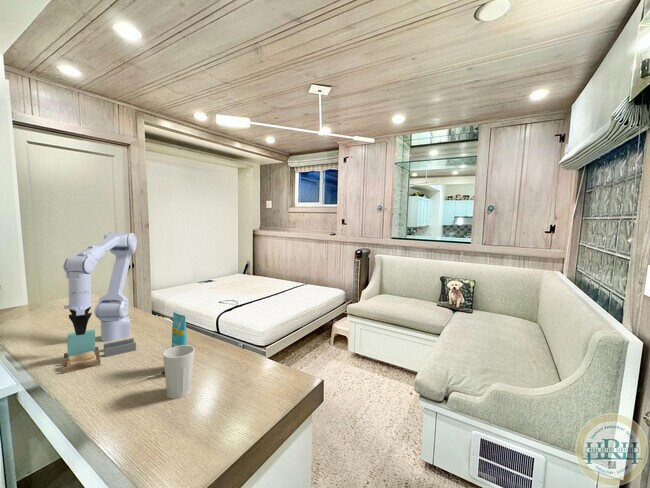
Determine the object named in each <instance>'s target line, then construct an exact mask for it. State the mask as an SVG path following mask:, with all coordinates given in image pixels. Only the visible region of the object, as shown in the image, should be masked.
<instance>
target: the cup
mask: <svg viewBox="0 0 650 488" xmlns="http://www.w3.org/2000/svg"><path fill="white" fill-rule="evenodd" d="M195 350H196V348H195V347H194V346H192V345H188V344H187V345H181V346H175V347H172V346H171V347H169V348H167V349H166V350H164V351H163V353H162V357H163V366H164V378H165V379H164V380H165V386H166V387H165V389H166V397H167V398H169V399H173V400H175V399H181V398H184V397H186V396H188V395H189V394H190V393H191V392H192V390H193V389H192V387H193V386H192V383H193V374H194V372H193V371H194V360H195Z"/></svg>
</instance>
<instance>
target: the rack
mask: <svg viewBox="0 0 650 488" xmlns="http://www.w3.org/2000/svg"><path fill="white" fill-rule="evenodd" d="M94 353H95V355H96V360H95V361H91V362H87V363H82V364H78V365H74V366H69V367H67V363H68V361H69V358H68V352H65V353H63V360H62V361H63V368H62V375H64V374H67V373H73V372H76V371H80V370H81V371H82V370H85V369H88V368H89V369H90V368H94V367H98V366H101V358H100V351H99V346H95V352H94Z"/></svg>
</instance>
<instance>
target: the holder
mask: <svg viewBox="0 0 650 488" xmlns="http://www.w3.org/2000/svg"><path fill="white" fill-rule="evenodd" d="M134 340H135V339H134V337H132V338H131V337H130V338H125V339H120V340H115V341H110V342H106V343H103V354H104V358H108V357H113V356H116V355H117V356H118V355H121V354H126V353H131V352H134V351H137V342H135V341H134Z"/></svg>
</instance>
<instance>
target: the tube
mask: <svg viewBox="0 0 650 488" xmlns="http://www.w3.org/2000/svg"><path fill="white" fill-rule="evenodd" d="M171 326H172V327H171V329H172V330H171V348H172V347H175V346H181V345H188V337H187V320H186V315H185V314H184V315H183V314H179V313H177V312H175V311H172V325H171Z"/></svg>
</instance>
